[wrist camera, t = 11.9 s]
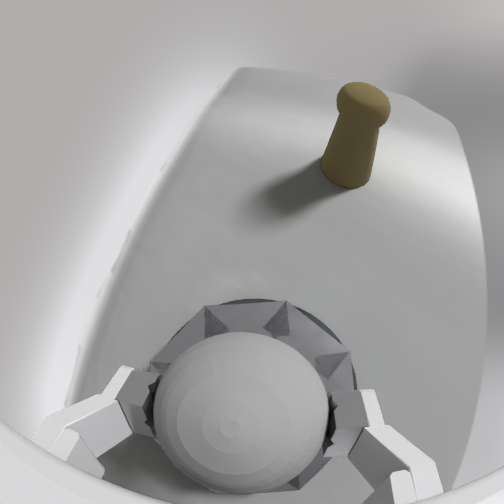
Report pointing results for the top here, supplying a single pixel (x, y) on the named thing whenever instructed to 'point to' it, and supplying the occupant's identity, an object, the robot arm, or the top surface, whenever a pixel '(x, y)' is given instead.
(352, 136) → the cork
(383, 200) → the top surface
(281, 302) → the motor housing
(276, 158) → the top surface
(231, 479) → the light bulb
